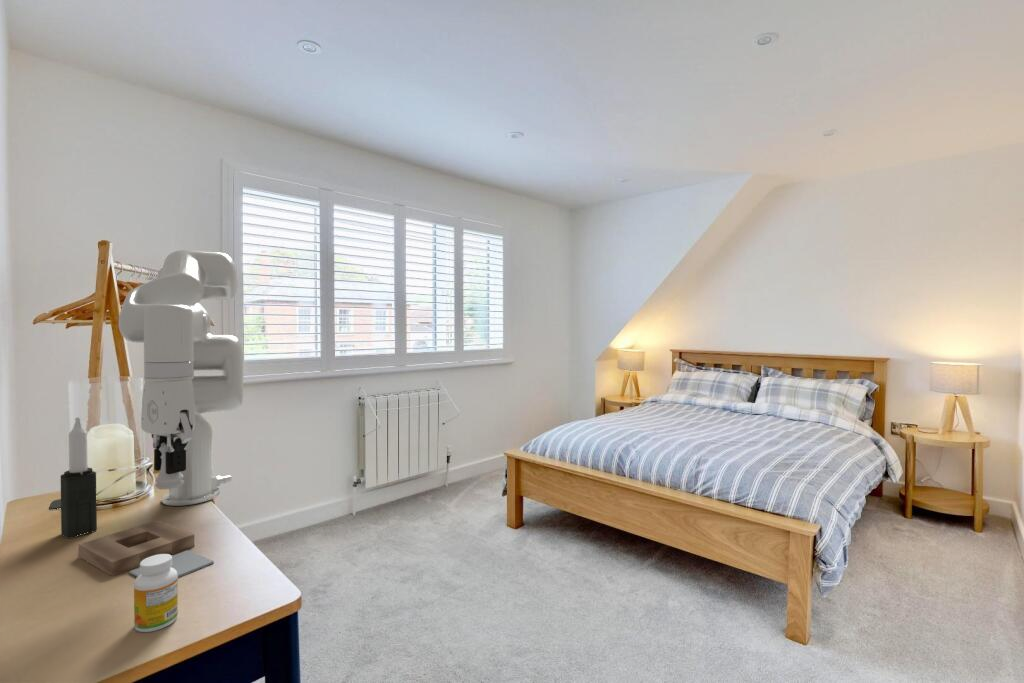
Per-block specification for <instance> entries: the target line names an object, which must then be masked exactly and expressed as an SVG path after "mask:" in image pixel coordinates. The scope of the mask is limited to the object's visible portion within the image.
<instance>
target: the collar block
mask: <svg viewBox="0 0 1024 683" xmlns="http://www.w3.org/2000/svg"><path fill="white" fill-rule="evenodd" d="M77 545H78V552H77V553H78V558H79V557H80V558H79V559H81V558H82V559H81V560H83V559H84V560H83V561H85V560H86V561H88V562H89V563H88V562H87V563H88V564H90V563H91V564H90V565H92V566H94V567H95V566H96V567H95V568H98V569H99V570H101V571H103V572H104V571H105V572H104V573H106V574H108V575H109V576H111V575H112V577H114V576H116V574H117V575H119V574H122V573H124V572H127V570H128V571H131V570H133V569H136V568H139V567H140V562H141V561H142V560H144V559H146V558H148V557H150V556H154V555H158V554H170V555H171V554H172V555H176V554H178V553H181V552H184V551H187V550H189V549H191V548H194V547H195V533H192V532H190V531H188V530H185V529H182V528H180V527H177V526H175V525H172V524H170V523H167V522H164V521H162V520H156V521H155V520H154V521H151V522H148V523H145V524H142V525H138V526H136V527H131V528H129V529H125V530H122V531H118V532H116V533H115V532H114V533H112V534H109V535H108V534H107V535H106V536H102V537H98V538H95V539H90V540H88V541H84V542H82V543H79V544H77ZM172 555H171V556H172ZM86 561H85V562H86ZM138 566H139V567H138ZM135 567H136V568H135ZM132 568H133V569H132ZM130 569H131V570H130ZM113 575H114V576H113Z"/></svg>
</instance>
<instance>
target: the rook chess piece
mask: <svg viewBox="0 0 1024 683" xmlns="http://www.w3.org/2000/svg"><path fill="white" fill-rule="evenodd" d="M159 450H160V451H161V453H162V456H161V457H160V458H161V459H162V463H161V470H159V473H158V476H157V477H155V480H154V481H155V482H156V484H154V486H155V487H156V488H157V489H158V490H169V489H172V488H176V487H179V486H181V485H182V484H183V483H184V481H183V480H182V478H183V477H184V476H183V474H181V473H180V472H177V473H173V474H166V457H165V452H168V445H167V444H165V443H162V444H161V447H160V448H159Z"/></svg>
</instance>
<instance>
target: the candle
mask: <svg viewBox="0 0 1024 683" xmlns="http://www.w3.org/2000/svg"><path fill="white" fill-rule="evenodd" d="M74 420H75V422H74V425H73V428H72V429H71V431H70V432H69V434H68V459H69V460H68V462H69V463H68V464H69V465H68V470H66V471H64V472H63V474H61V475H60V499H61V509H60V519H61V520H60V524H61V525H60V526H61V529H60V530H61V533H60V534H61V536H63V535H64V536H63V537H65V538H66V537H68V538H67V539H71V538H70V537H75V536H77V535H80V534H84V533H87V532H92V531H95V530H96V529H97V530H98V520H97V516H98V514H97V504H98V503H96V493H97V472H96V471H93V468H92V467H88V431H86V429H85V428H84V427H83V425H82V422H81V417H75V419H74ZM95 532H96V531H95ZM84 535H85V534H84ZM77 537H78V536H77ZM75 538H76V537H75Z"/></svg>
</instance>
